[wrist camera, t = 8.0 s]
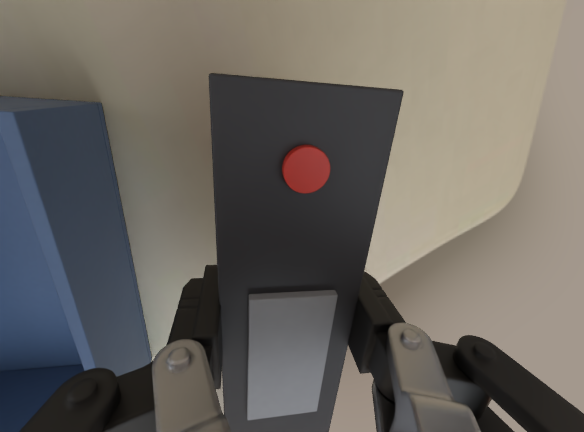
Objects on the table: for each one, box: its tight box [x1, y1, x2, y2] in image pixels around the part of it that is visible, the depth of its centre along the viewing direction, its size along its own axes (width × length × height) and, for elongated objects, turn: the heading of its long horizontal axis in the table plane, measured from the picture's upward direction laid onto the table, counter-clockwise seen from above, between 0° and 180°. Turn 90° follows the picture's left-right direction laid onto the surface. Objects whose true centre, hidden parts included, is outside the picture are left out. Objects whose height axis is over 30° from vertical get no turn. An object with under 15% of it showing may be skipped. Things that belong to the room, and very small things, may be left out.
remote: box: [209, 73, 403, 432], centre depth 11 cm, size 5×15×4 cm, turn 176°
